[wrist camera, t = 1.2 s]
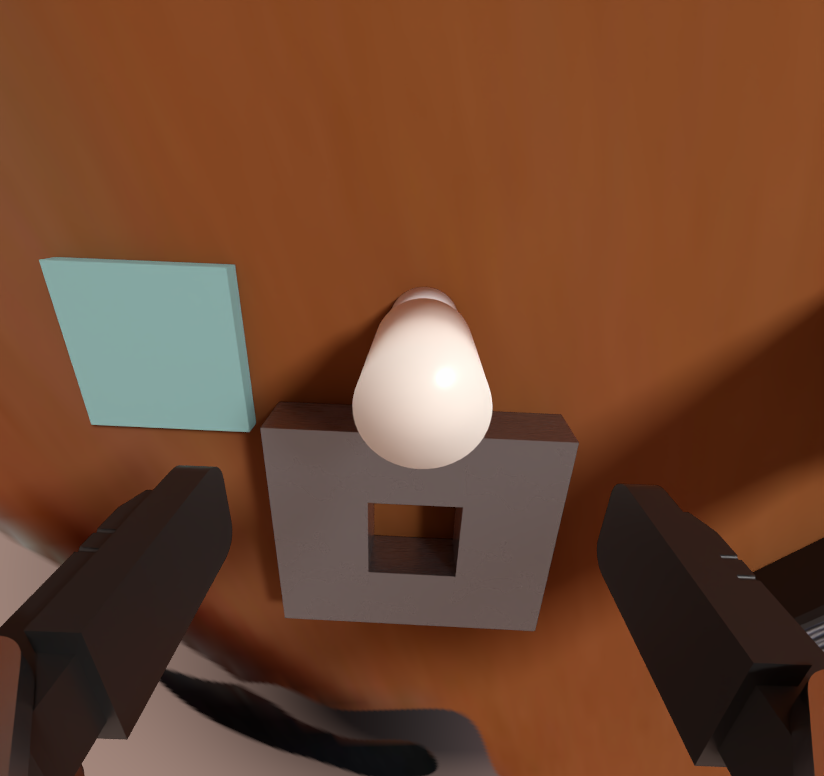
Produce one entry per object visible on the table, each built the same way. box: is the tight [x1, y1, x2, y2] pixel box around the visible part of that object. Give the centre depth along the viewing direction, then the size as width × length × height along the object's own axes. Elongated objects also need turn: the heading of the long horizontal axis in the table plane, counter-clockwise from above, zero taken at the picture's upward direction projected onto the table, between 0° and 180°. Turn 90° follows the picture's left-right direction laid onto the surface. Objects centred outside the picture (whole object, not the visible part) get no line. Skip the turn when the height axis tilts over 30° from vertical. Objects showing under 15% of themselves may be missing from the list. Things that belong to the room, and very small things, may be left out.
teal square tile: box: [39, 257, 256, 432], centre depth 22 cm, size 9×9×1 cm
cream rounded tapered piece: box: [352, 287, 492, 469], centre depth 17 cm, size 4×4×10 cm
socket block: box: [260, 402, 579, 631], centre depth 25 cm, size 16×14×3 cm
